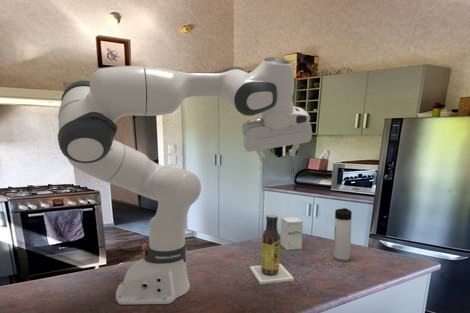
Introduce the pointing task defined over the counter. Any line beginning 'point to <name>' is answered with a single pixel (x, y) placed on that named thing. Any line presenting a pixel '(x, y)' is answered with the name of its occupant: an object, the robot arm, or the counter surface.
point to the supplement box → (291, 233)
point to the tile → (266, 278)
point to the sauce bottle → (270, 246)
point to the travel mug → (342, 234)
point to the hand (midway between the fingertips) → (277, 158)
